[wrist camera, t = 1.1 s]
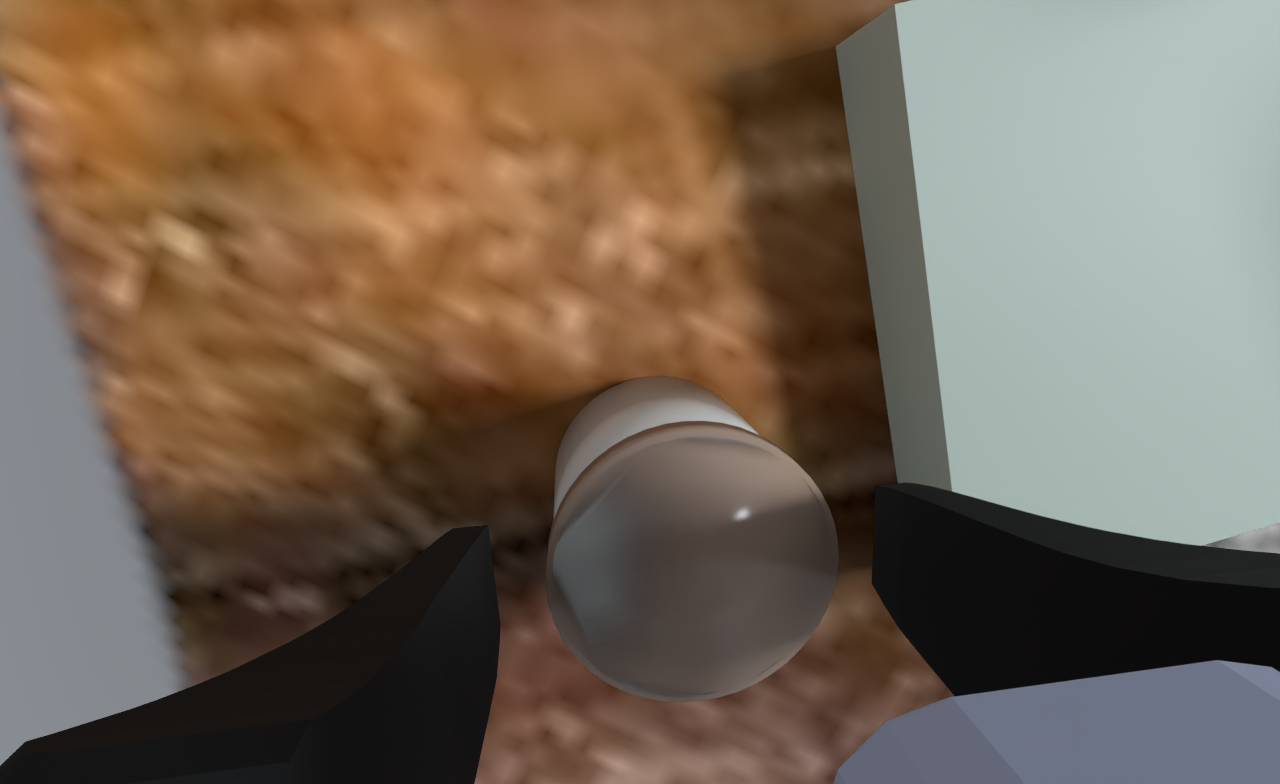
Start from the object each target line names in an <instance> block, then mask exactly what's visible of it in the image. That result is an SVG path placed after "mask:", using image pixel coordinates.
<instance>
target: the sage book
mask: <svg viewBox="0 0 1280 784" xmlns="http://www.w3.org/2000/svg"><path fill="white" fill-rule="evenodd" d="M836 53H837V60H838V67H839V74H840V81H841V88H842V95H843V102H844V109H845V116H846V123H847V130H848V137H849V144H850V151H851V158H852V165H853V172H854V179H855V186H856V193H857V200H858V208H859V215H860V222H861V229H862V236H863V243H864V250H865V257H866V264H867V271H868V278H869V285H870V292H871V299H872V306H873V313H874V320H875V327H876V334H877V341H878V348H879V355H880V362H881V369H882V376H883V383H884V390H885V397H886V404H887V411H888V418H889V425H890V433H891V440H892V447H893V454H894V461H895V468H896V475H897V482H898V483H905V482H907V483H916V484H922V485H927V486H932V487H936V488H940V489H944V490H948V491H952V492H956V493H959V494H963V495H967V496H970V497H974V498H978V499H981V500H985V501H988V502H992V503H995V504H999V505H1003V506H1006V507H1010V508H1013V509H1017V510H1021V511H1025V512H1028V513H1032V514H1036V515H1040V516H1044V517H1048V518H1052V519H1056V520H1060V521H1064V522H1069V523H1073V524H1077V525H1081V526H1086V527H1090V528H1095V529H1100V530H1105V531H1110V532H1116V533H1121V534H1127V535H1132V536H1138V537H1143V538H1149V539H1155V540H1161V541H1168V542H1175V543H1182V544H1190V545H1199V546H1202V545H1205V544H1209V543H1212V542H1216V541H1219V540H1223V539H1226V538H1230V537H1233V536H1236V535H1240V534H1243V533H1247V532H1250V531H1254V530H1257V529H1261V528H1264V527H1268V526H1271V525H1275V524H1278V523H1280V0H911V1H907V2H903V3H898V4H894V5H893V6H892V7H890V8H889V9H887V10H886V11H885V12H883V13H882V14H880V15H879V16H877V17H876V18H875V19H873V20H872V21H870V22H869V23H868V24H866V25H865V26H863V27H862V28H861V29H859V30H858V31H856V32H855V33H854V34H852V35H851V36H849V37H848V38H847V39H845V40H844V41H842V42H841V43H840V44H838V45H837V46H836Z"/></svg>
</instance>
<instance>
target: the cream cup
mask: <svg viewBox="0 0 1280 784" xmlns="http://www.w3.org/2000/svg"><path fill="white" fill-rule="evenodd" d="M838 559H839V554H838V539H837V534H836V528H835V523H834V520H833V517H832V515H831V512H830V509H829V506H828V504H827V502H826V501H825V499H824V497H823V495H822V493H821V491H820V490H819V488H818V487H817V486H816V484H815V483H814V481H813V480H812V479H811V477H810V476H809V475H808V474H807V473H806V472H805V471H804V470H803V469H802V468H801V467H800V466H799V465H798V464H797V463H796V462H795V461H794V460H793V459H792V458H791V457H790V456H788V455H787V454H786V453H785V452H784V451H783V450H781V449H780V448H779V447H777V446H776V445H775V444H773V443H772V442H770V441H769V440H767V439H765V438H763V437H761V436H760V435H759V434H758V433H757V432H756V431H755V430H754V429H753V428H752V427H751V426H750V425H749V424H748V423H747V422H746V421H745V420H744V419H743V418H742V417H741V416H740V415H739V414H738V413H736V412H735V411H734V410H733V409H732V408H731V407H730V406H729V405H728V404H727V403H726V402H725V401H724V400H723V399H722V398H721V397H719V396H718V395H717V394H715V393H714V392H713V391H711V390H709V389H707V388H706V387H704V386H702V385H699V384H697V383H694V382H692V381H689V380H685V379H681V378H677V377H669V376H649V377H642V378H636V379H632V380H629V381H625V382H622V383H620V384H618V385H615V386H613V387H611V388H609V389H607V390H606V391H604V392H602V393H601V394H599V395H598V396H597V397H595V398H594V399H593V400H591V401H590V402H589V403H588V404H587V405H586V406H585V407H584V408H583V409H582V410H581V411H580V412H579V413H578V414H577V416H576V417H575V418H574V420H573V421H572V422H571V424H570V426H569V427H568V429H567V431H566V433H565V435H564V437H563V439H562V442H561V444H560V447H559V451H558V455H557V459H556V468H555V491H554V520H553V523H552V527H551V531H550V535H549V540H548V548H547V559H546V591H547V596H548V602H549V608H550V611H551V614H552V617H553V620H554V623H555V625H556V627H557V629H558V631H559V633H560V635H561V637H562V639H563V641H564V642H565V643H566V645H567V646H568V648H569V649H570V651H571V652H572V653H573V655H574V656H575V657H576V658H577V659H578V660H579V661H580V662H581V663H582V664H583V665H584V666H585V667H586V668H587V669H588V670H590V671H591V672H592V673H593V674H595V675H596V676H597V677H598V678H600V679H602V680H603V681H605V682H607V683H608V684H610V685H612V686H613V687H616V688H618V689H620V690H623V691H625V692H627V693H630V694H633V695H636V696H640V697H643V698H647V699H653V700H659V701H666V702H692V701H703V700H708V699H713V698H718V697H722V696H725V695H728V694H732V693H735V692H738V691H740V690H742V689H745V688H747V687H749V686H751V685H754V684H755V683H757V682H759V681H761V680H762V679H764V678H766V677H768V676H769V675H771V674H772V673H773V672H775V671H776V670H778V669H779V668H780V667H782V666H783V665H784V664H785V663H787V662H788V661H789V660H790V659H791V658H792V657H793V656H794V655H795V654H796V653H797V652H798V651H799V650H800V649H801V648H802V647H803V645H804V644H805V643H806V642H807V641H808V640H809V638H810V637H811V635H812V634H813V632H814V631H815V630H816V628H817V627H818V625H819V623H820V622H821V620H822V618H823V616H824V614H825V612H826V610H827V608H828V605H829V602H830V599H831V597H832V594H833V591H834V587H835V582H836V578H837V571H838Z"/></svg>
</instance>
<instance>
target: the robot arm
mask: <svg viewBox="0 0 1280 784" xmlns="http://www.w3.org/2000/svg"><path fill="white" fill-rule="evenodd" d="M872 585H873V586H874V588H875V590H876V592H877V593H878V595H879V597H880V598H881V600H882V602H883V604H884V605H885V607H886V609H887V610H888V612H889V613H890V615H891V617H892V618H893V620H894V621H895V623H896V625H897V626H898V627H899V629H900V630H901V631H902V633H903V634H904V635H905V636H906V638H907V639H908V640H909V641H910V643H911V644H912V645H913V646H914V647H915V649H916V650H917V651H918V652H919V654H920V655H921V656H922V657H923V658H924V660H925V661H926V662H927V663H928V664H929V666H930V667H931V668H932V669H933V670H934V672H935V673H936V674H937V675H938V676H939V678H940V679H941V680H942V681H943V682H944V684H945V685H946V686H947V687H948V688H949V690H950V691H951V692H952V693H953V694H954V696H955V697H950V698H946V699H942V700H940V701H937V702H934V703H932V704H929V705H926V706H924V707H921V708H918V709H916V710H913V711H910V712H908V713H905V714H902V715H900V716H897V717H894V718H892V719H889V720H886V721H885V722H884V723H883V724H882V725H881V726H880V727H879V728H878V729H877V730H876V731H875V732H874V733H873V734H872V735H871V736H870V737H869V738H868V739H867V740H866V741H865V742H864V743H863V744H862V745H861V746H860V747H859V748H858V749H857V750H856V751H855V752H854V753H853V754H852V755H851V756H850V757H849V758H848V759H847V760H846V761H845V762H844V763H843V764H842V765H841V767H840V768H839V769H838V771H837V774H836V778H835V781H834V784H1280V554H1277V553H1266V552H1254V551H1242V550H1233V549H1224V548H1216V547H1207V546H1199V545H1190V544H1182V543H1175V542H1168V541H1161V540H1155V539H1149V538H1143V537H1138V536H1132V535H1127V534H1121V533H1116V532H1110V531H1105V530H1100V529H1095V528H1090V527H1086V526H1081V525H1077V524H1073V523H1069V522H1064V521H1060V520H1056V519H1052V518H1048V517H1044V516H1040V515H1036V514H1032V513H1028V512H1025V511H1021V510H1017V509H1013V508H1010V507H1006V506H1003V505H999V504H995V503H992V502H988V501H985V500H981V499H978V498H974V497H970V496H967V495H963V494H959V493H956V492H952V491H948V490H944V489H940V488H936V487H932V486H927V485H922V484H916V483H907V482H905V483H895V484H886V485H876V486H875V504H874V534H873V564H872ZM499 642H500V619H499V611H498V603H497V595H496V587H495V578H494V570H493V562H492V554H491V546H490V538H489V530H488V525H484V526H474V527H464V528H454V529H452V530H450V531H448V532H447V533H445V534H444V535H443V536H442V537H440V538H439V539H438V540H436V541H435V542H434V543H433V544H432V545H430V546H429V547H428V548H427V549H425V550H424V551H423V552H422V553H421V554H419V555H418V556H417V557H416V558H414V559H413V560H412V561H411V562H409V563H408V564H407V565H406V566H404V567H403V568H402V569H401V570H399V571H398V572H397V573H396V574H394V575H393V576H392V577H390V578H389V579H388V580H386V581H385V582H384V583H382V584H381V585H379V586H378V587H377V588H375V589H374V590H372V591H371V592H370V593H368V594H367V595H366V596H364V597H363V598H361V599H360V600H359V601H357V602H356V603H354V604H353V605H351V606H350V607H348V608H347V609H345V610H344V611H342V612H341V613H339V614H338V615H336V616H334V617H333V618H331V619H330V620H328V621H326V622H324V623H323V624H321V625H319V626H317V627H316V628H314V629H312V630H311V631H309V632H307V633H305V634H304V635H302V636H300V637H298V638H296V639H295V640H293V641H291V642H289V643H287V644H285V645H283V646H281V647H278V648H276V649H274V650H272V651H270V652H268V653H266V654H264V655H262V656H260V657H258V658H256V659H254V660H252V661H250V662H248V663H246V664H243V665H241V666H239V667H237V668H235V669H233V670H231V671H228V672H226V673H224V674H221V675H219V676H217V677H214V678H212V679H209V680H207V681H204V682H202V683H200V684H197V685H195V686H192V687H190V688H187V689H184V690H182V691H179V692H177V693H174V694H171V695H169V696H167V697H163V698H161V699H158V700H156V701H153V702H150V703H147V704H144V705H141V706H139V707H136V708H133V709H130V710H127V711H124V712H121V713H117V714H114V715H111V716H108V717H105V718H102V719H99V720H95V721H92V722H89V723H86V724H82V725H80V726H76V727H73V728H70V729H67V730H63V731H60V732H57V733H54V734H51V735H47V736H44V737H40V738H37V739H33V740H30V741H27V742H25V743H24V744H23V745H22V746H21V747H19V748H18V749H17V750H16V751H15V752H14V753H13V754H12V755H11V756H10V757H9V758H8V759H7V760H6V761H5V762H4V763H3V764H2V765H1V766H0V784H474V782H475V778H476V773H477V768H478V764H479V759H480V754H481V750H482V745H483V740H484V736H485V731H486V727H487V722H488V717H489V712H490V708H491V703H492V698H493V693H494V688H495V683H496V678H497V668H498V656H499Z"/></svg>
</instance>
